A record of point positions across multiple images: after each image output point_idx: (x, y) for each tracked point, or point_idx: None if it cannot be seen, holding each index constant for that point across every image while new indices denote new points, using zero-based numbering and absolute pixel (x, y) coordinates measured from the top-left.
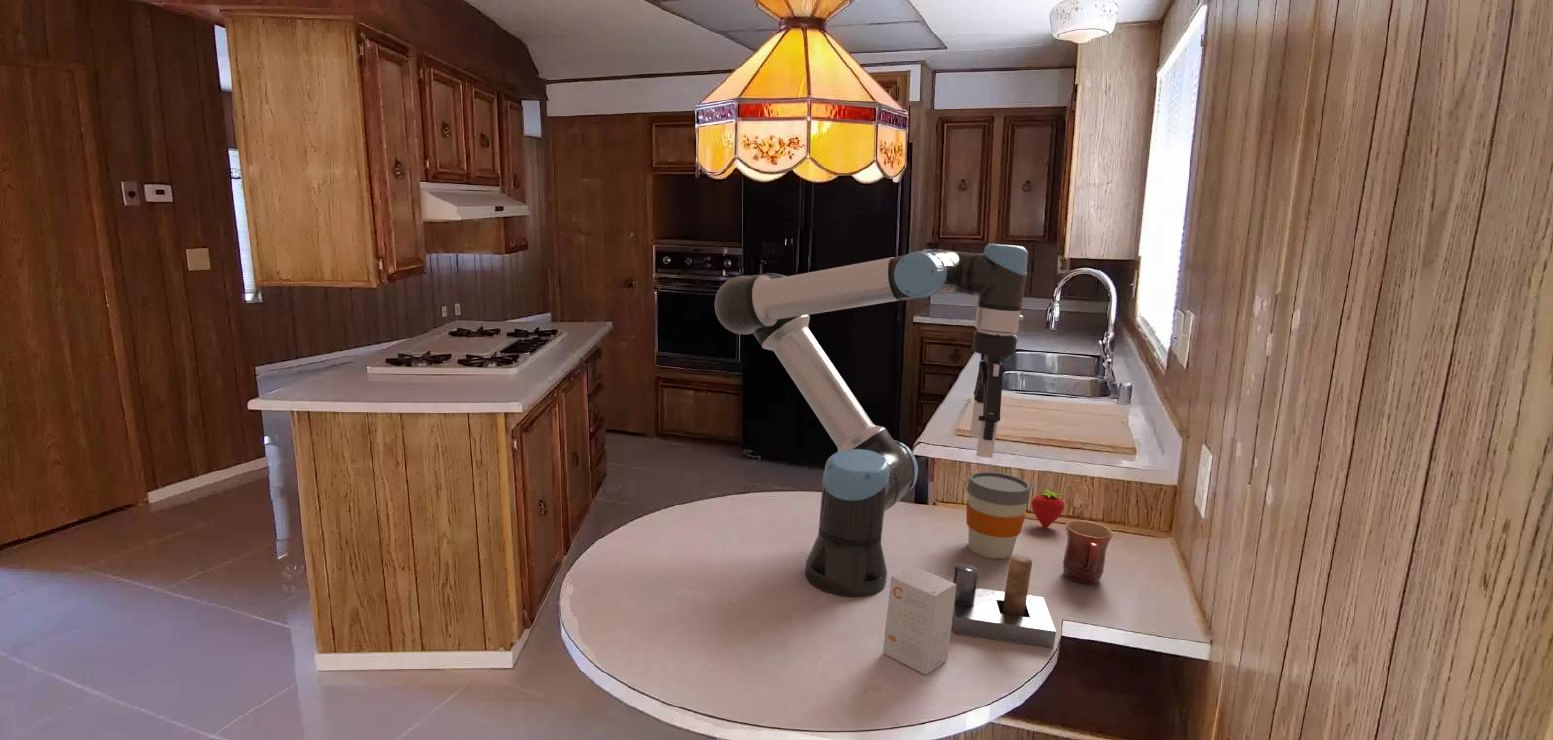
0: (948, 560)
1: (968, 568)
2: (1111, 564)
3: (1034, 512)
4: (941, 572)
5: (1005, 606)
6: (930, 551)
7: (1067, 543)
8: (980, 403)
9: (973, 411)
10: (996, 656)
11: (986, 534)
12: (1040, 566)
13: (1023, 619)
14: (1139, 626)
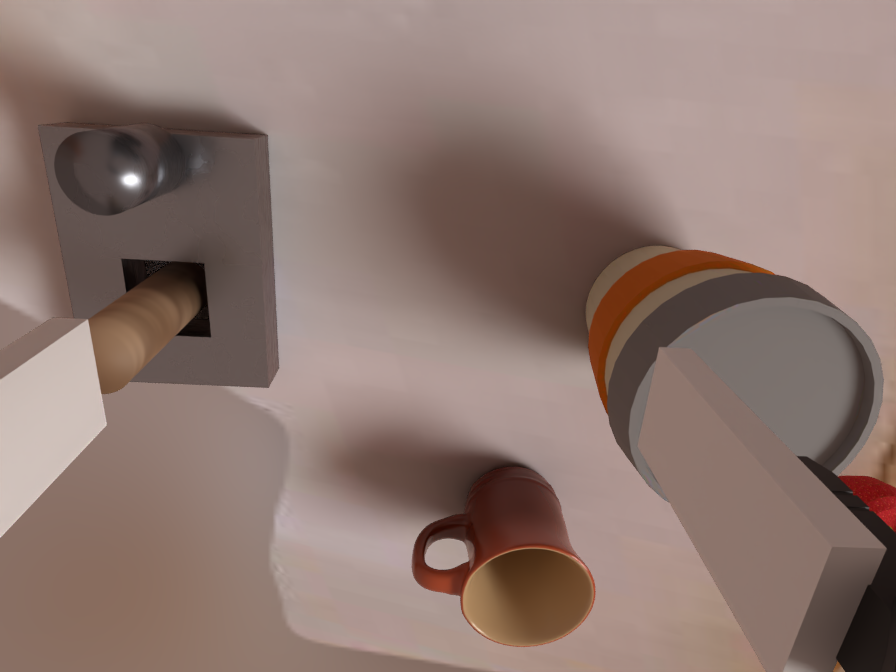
0: (544, 166)
1: (102, 181)
2: (600, 576)
3: (851, 478)
4: (450, 132)
5: (146, 279)
6: (604, 112)
7: (525, 517)
8: (805, 608)
9: (764, 470)
10: (3, 221)
11: (601, 302)
12: (555, 420)
13: None
14: (291, 550)
